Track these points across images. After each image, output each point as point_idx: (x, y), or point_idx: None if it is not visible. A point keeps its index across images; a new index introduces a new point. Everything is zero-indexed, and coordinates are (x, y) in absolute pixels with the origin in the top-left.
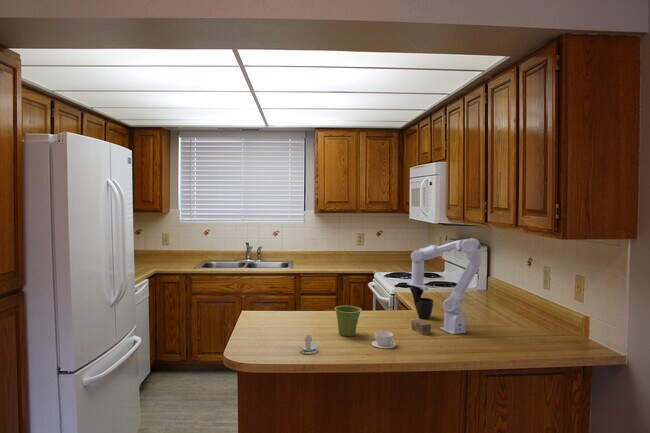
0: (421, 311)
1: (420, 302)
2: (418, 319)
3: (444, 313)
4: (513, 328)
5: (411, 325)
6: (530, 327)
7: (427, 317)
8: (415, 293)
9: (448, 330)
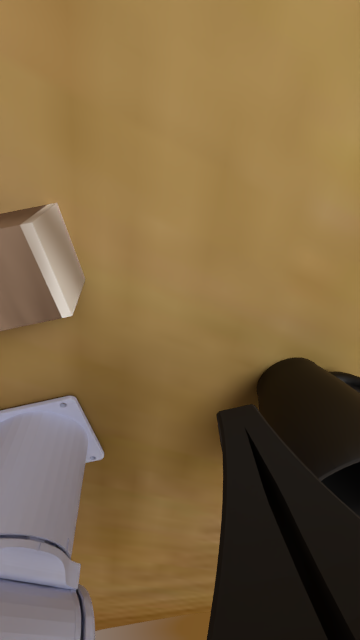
0: (289, 396)
1: (334, 449)
2: (36, 299)
3: (8, 512)
4: (87, 582)
5: (37, 211)
6: (98, 605)
7: (258, 397)
8: (227, 586)
9: (2, 422)
